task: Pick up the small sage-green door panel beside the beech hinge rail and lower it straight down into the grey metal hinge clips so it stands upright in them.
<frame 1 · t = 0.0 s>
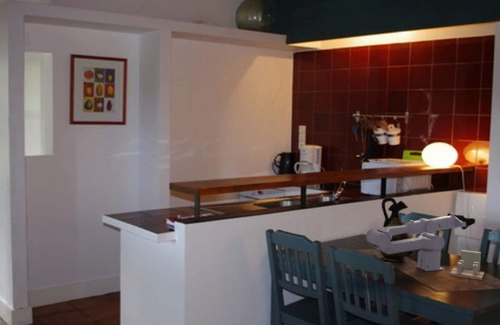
hand: (469, 219, 267), 22 cm above the table, tool horizontal, fingers open, 7 cm apart
ceramic jug: (391, 259, 279), on the table
door: (470, 268, 264), on the table
hinge bracket: (467, 273, 255), on the table
ammunition clip: (402, 252, 293), on the table
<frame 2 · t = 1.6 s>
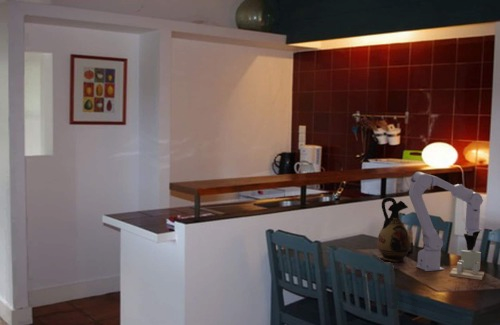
hand: (471, 248, 263), 9 cm above the table, tool pointing down, fingers open, 7 cm apart
nothing on the table moved.
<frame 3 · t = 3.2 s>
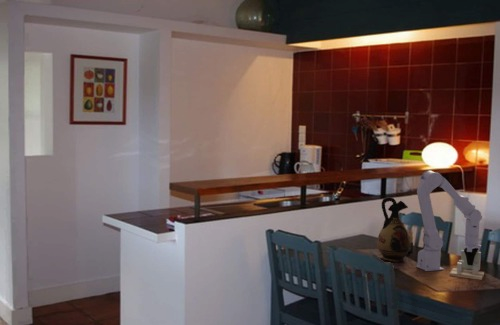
hand: (470, 264, 264), 2 cm above the table, tool pointing down, fingers closed on door, 2 cm apart
door: (470, 268, 264), on the table, touching gripper
everything else where it was.
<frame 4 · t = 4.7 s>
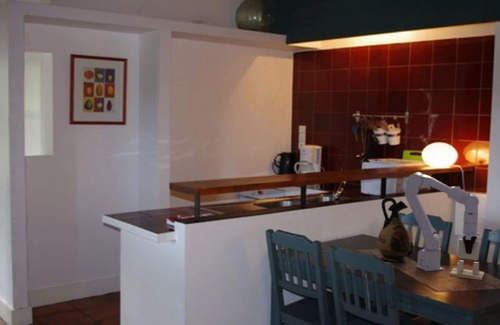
hand: (469, 252, 256), 9 cm above the table, tool pointing down, fingers closed on door, 2 cm apart
door: (468, 258, 256), point 7 cm above the table, touching gripper
everything else where it was.
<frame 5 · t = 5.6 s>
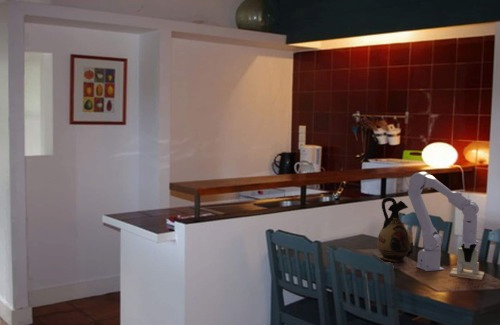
hand: (468, 261, 254), 6 cm above the table, tool pointing down, fingers closed on door, 2 cm apart
door: (467, 267, 255), point 3 cm above the table, touching gripper
everything else where it was.
when the fingers open (5 cm above the table, at t = 6.2 s): door stays where it is, resting on hinge bracket.
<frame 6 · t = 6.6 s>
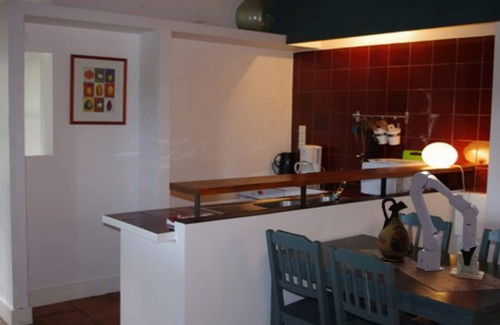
hand: (468, 263, 255), 5 cm above the table, tool pointing down, fingers open, 6 cm apart
door: (466, 271, 255), point 1 cm above the table, touching hinge bracket
everything else where it was.
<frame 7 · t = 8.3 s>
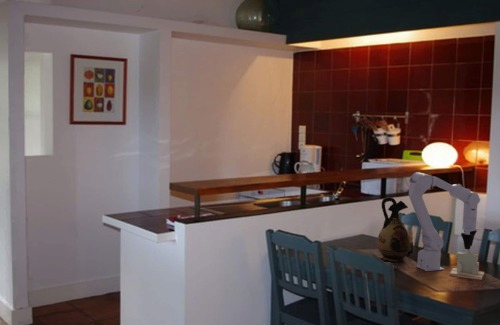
hand: (468, 247, 265), 9 cm above the table, tool pointing down, fingers open, 7 cm apart
nothing on the table moved.
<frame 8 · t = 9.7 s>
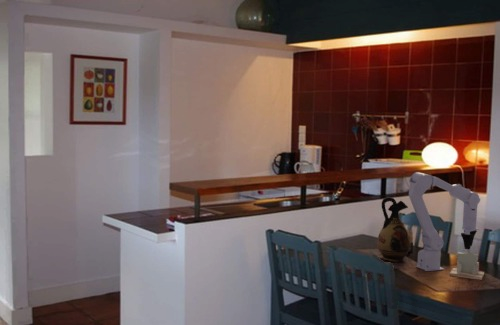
hand: (468, 247, 265), 9 cm above the table, tool pointing down, fingers open, 7 cm apart
nothing on the table moved.
at the end: door 0.3 cm off-centre on the hinge bracket, point 1.0 cm above the hinge bracket's base; door tilted 0°; the gripper is holding nothing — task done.
